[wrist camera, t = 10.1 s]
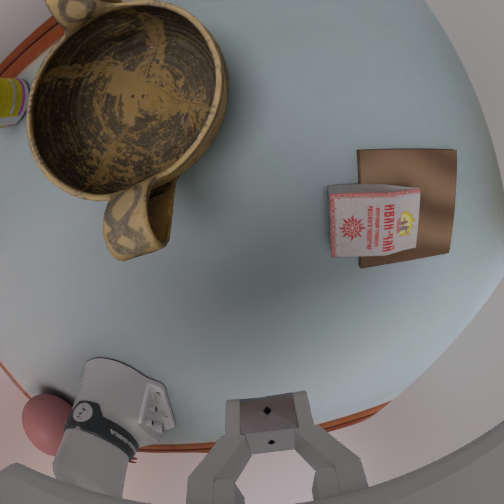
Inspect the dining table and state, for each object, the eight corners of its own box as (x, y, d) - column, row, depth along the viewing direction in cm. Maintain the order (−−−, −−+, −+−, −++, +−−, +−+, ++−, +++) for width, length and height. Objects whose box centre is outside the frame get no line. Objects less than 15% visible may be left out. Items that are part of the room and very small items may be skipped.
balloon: (75, 427, 55) (60, 470, 41) (27, 380, 47) (2, 425, 33) (114, 431, 53) (99, 481, 39) (61, 380, 45) (34, 435, 31)
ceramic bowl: (260, 178, 29) (271, 229, 15) (119, 221, 31) (48, 290, 17) (204, -7, 20) (173, -85, 6) (68, 55, 21) (-21, 40, 8)
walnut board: (445, 250, 33) (448, 252, 32) (358, 265, 34) (360, 268, 33) (453, 149, 27) (456, 150, 26) (356, 149, 28) (359, 150, 27)
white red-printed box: (327, 185, 29) (414, 184, 27) (329, 242, 32) (410, 240, 30) (329, 194, 26) (425, 192, 24) (331, 257, 29) (420, 254, 27)
